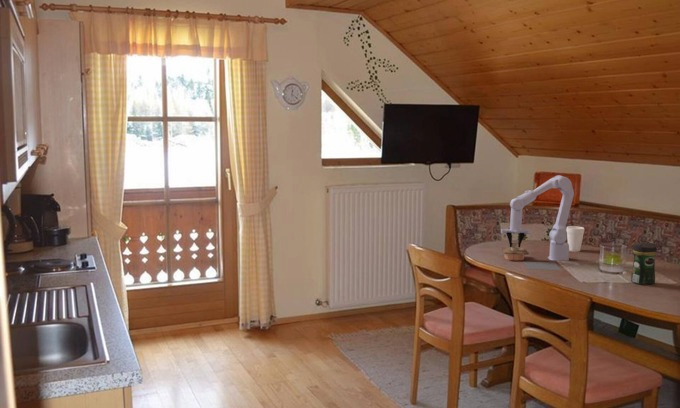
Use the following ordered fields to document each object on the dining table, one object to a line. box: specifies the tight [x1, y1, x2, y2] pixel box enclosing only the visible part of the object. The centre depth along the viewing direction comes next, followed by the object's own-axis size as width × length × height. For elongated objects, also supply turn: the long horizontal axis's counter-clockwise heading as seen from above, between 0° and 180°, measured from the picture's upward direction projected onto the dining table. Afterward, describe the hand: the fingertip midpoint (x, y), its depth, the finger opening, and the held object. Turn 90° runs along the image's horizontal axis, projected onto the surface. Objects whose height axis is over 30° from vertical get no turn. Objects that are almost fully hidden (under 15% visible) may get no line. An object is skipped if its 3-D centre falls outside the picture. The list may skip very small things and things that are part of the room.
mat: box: [521, 260, 562, 271], centre depth 316 cm, size 16×16×1 cm
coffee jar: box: [630, 242, 658, 286], centre depth 286 cm, size 10×8×19 cm
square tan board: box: [500, 242, 529, 256], centre depth 331 cm, size 12×12×4 cm
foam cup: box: [566, 225, 585, 253], centre depth 354 cm, size 10×9×13 cm
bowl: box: [504, 254, 525, 261], centre depth 332 cm, size 10×10×4 cm
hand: (514, 247), depth 331 cm, fingers open, 4 cm apart
